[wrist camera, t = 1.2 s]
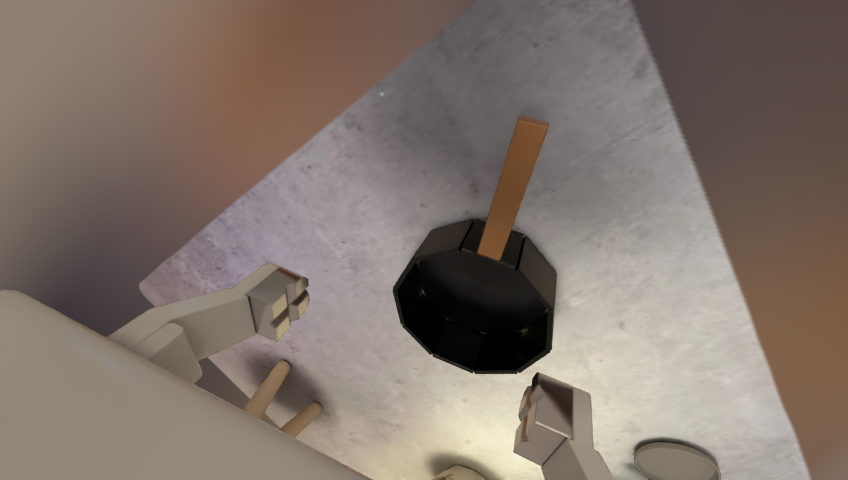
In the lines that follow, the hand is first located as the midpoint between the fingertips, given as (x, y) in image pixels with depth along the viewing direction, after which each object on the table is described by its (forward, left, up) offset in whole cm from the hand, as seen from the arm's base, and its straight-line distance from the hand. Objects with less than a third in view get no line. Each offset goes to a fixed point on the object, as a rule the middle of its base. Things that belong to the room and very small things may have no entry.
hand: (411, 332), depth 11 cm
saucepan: (+3, -5, -16) cm, 17 cm away
